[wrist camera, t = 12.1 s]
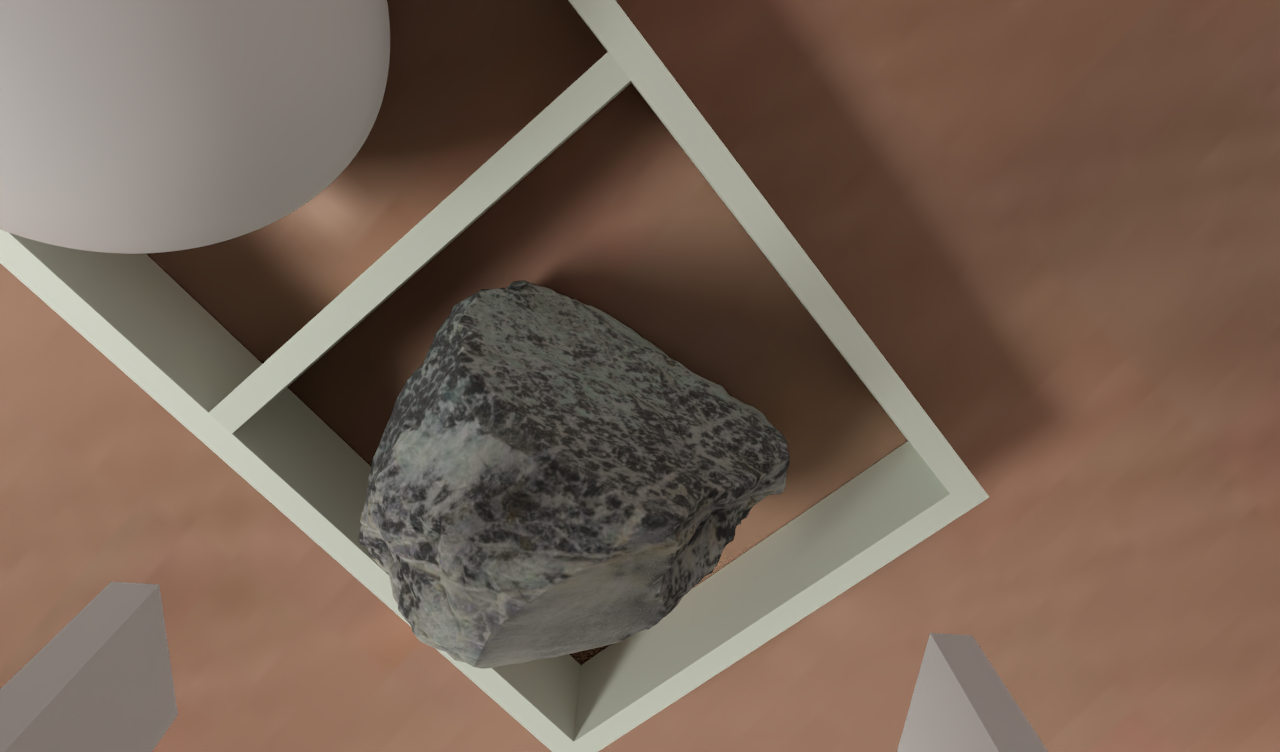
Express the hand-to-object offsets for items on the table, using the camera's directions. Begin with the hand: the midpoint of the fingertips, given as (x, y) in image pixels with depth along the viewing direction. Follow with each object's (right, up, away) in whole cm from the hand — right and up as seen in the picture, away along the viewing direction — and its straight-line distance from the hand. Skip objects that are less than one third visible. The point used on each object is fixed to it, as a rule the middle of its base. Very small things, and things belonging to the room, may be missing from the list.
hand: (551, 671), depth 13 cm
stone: (-1, +4, +11) cm, 12 cm away
